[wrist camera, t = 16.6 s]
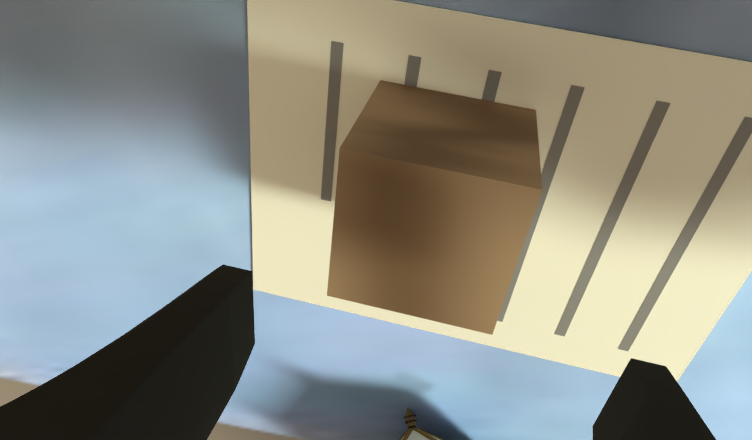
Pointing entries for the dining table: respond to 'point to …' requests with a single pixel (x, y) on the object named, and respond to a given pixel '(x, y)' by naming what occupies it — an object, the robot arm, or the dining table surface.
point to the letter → (557, 160)
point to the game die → (416, 430)
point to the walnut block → (434, 204)
